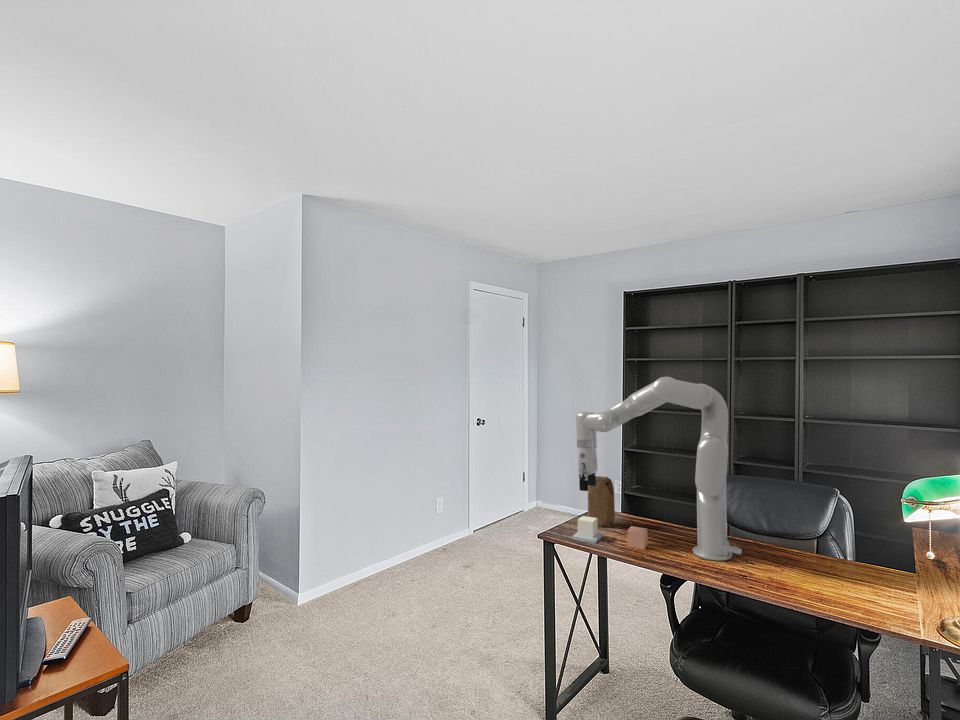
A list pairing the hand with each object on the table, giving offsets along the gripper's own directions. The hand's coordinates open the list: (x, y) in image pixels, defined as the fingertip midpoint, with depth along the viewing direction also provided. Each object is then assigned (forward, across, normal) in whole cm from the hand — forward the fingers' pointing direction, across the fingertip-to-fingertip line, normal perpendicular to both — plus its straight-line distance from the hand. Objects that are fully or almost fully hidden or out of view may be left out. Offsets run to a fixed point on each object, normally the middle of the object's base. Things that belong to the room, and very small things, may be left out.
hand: (587, 488), depth 200 cm
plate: (+19, 0, +1) cm, 19 cm away
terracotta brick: (+20, 0, -18) cm, 27 cm away
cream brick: (+18, 0, 0) cm, 18 cm away
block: (+20, +19, +1) cm, 27 cm away
